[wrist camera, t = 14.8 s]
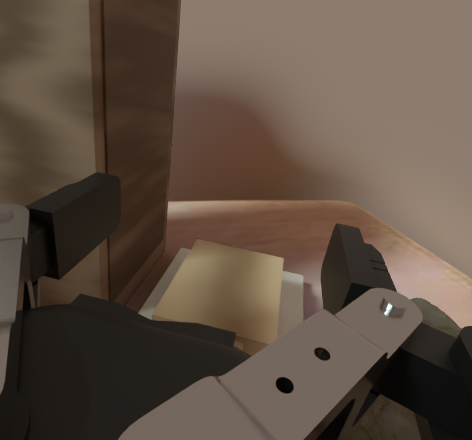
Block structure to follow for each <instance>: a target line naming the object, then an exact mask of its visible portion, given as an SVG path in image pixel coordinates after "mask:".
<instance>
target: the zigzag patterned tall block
mask: <svg viewBox="0 0 472 440" xmlns="http://www.w3.org/2000/svg"><path fill="white" fill-rule="evenodd" d="M180 5H181V0H0V204H16V205H21V206H24V207H25V206H27V205H29V204H31V203H33V202H35V201H37V200H38V199H40V198H42V197H44V196H46V195H47V196H48V195H49V194H50V193H52V192H54V191H57V190H58V189H60V188H62V187H64V186H66V185H68V184H72V183H77V182H79V181H81V180H83V179H84V178H86V177H88V176H90V175H92V174H94V173H96V172H100V173H105V174H110V175H114V176H118V177H119V179H120V183H121V218H120V222H119V225H118V227H117V229H116V230H115V231H114V232H113V233H112V234H111V235H110V236H108V237H107V238H106V239H105V240H104V241H103V242H102V243H101V244H99V245H98V246H97V247H96V248H95V249H94V250H93V251H92V252H90V253H89V254H88V255H87V256H86V257H85V258H84V259H83V260H81V261H80V262H79V263H78V264H77V265H76V266H75V267H74V268H72V269H71V270H70V271H69V272H68V273H67V274H66V275H65V276H63V277H62V278H61V279H60V280H57V279H53V278H49V277H45V276H41V277H40V278H39V285H40V307H41V306H47V305H56V304H71V303H72V302H73V300H74V299H75V298H76V297H77V296H78V295H79V294H84V295H88V296H92V297H96V298H100V299H104V300H108V301H112V302H116V303H119V304H121V305H123V306H124V305H125V304H126V303H127V301H128V300H129V299H130V297H131V296H132V295H133V293H134V292H135V291H136V289H137V288H138V286H139V285H140V284H141V282H142V281H143V280H144V278H145V277H146V276H147V274H148V273H149V272H150V270H151V269H152V267H153V266H154V265H155V263H156V262H157V261H158V259H159V258H160V257H161V255H162V254H163V253H164V251H165V240H166V225H167V209H168V193H169V178H170V163H171V147H172V132H173V116H174V100H175V84H176V69H177V54H178V38H179V23H180V7H181V6H180Z"/></svg>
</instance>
